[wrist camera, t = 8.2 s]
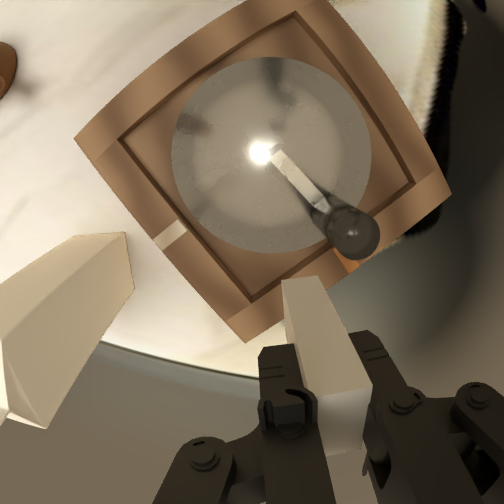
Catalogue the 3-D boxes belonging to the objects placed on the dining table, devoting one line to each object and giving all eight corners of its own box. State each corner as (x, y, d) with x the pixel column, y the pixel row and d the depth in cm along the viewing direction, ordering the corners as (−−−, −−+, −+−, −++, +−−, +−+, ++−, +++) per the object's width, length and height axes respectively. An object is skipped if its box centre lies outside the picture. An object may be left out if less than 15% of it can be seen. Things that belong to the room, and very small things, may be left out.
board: (295, -13, 21) (301, -28, 18) (435, 189, 28) (452, 194, 25) (88, 138, 25) (72, 138, 22) (244, 326, 32) (244, 344, 29)
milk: (73, 235, 28) (-93, 354, 7) (126, 231, 28) (-38, 376, 7) (85, 291, 30) (-41, 439, 9) (136, 290, 30) (25, 470, 9)
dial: (136, 157, 25) (94, 162, 17) (274, 26, 21) (287, -18, 14) (269, 284, 28) (278, 334, 21) (399, 163, 25) (452, 172, 18)
